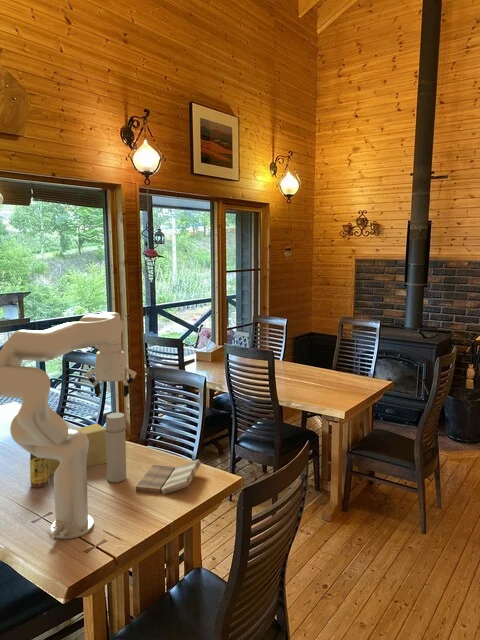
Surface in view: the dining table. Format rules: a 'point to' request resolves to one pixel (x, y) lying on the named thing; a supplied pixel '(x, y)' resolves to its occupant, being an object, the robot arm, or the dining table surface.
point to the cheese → (95, 449)
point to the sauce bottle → (38, 471)
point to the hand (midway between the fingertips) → (112, 395)
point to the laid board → (154, 479)
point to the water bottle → (115, 447)
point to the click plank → (181, 477)
